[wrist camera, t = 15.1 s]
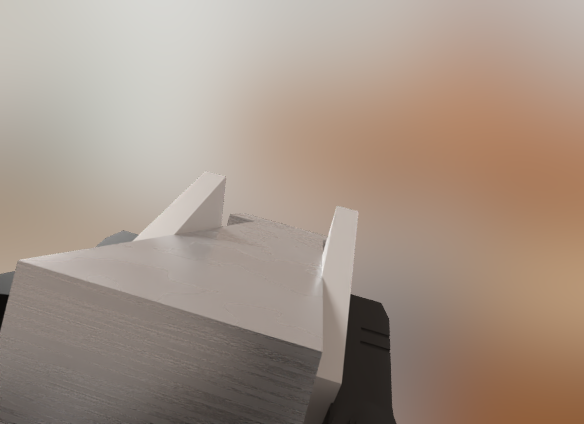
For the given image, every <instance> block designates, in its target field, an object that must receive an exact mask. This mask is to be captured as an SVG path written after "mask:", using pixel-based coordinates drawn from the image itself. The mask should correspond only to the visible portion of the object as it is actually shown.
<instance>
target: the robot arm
mask: <svg viewBox="0 0 584 424" xmlns="http://www.w3.org/2000/svg"><path fill="white" fill-rule="evenodd" d="M225 181H226V176H223V175H220V174H215V173H212V172H208V171H205V172H204V173H203V174H202V175H201V176H200V177H199V178H198V179H197V180H196V181H195V182H193V183H192V185H190V186H189V187H188V188H187V189H186V190H185V191H184V192H183V193H182V194H181V195H180V196H179V197H178V198H177V199H176V200H175V201H174V202H173V203H172V204H171V205H170V206H169V207H167V208H166V209H165V210H164V211H163V212H162V213H161V214H160V215H159V216H158V217H157V218H156V219H155V220H154V221H153V222H152V223H151V224H150V225H149V226H148V227H147V228H146V229H145V230H144V231H142V232H141V233H140V234H139V235H137V234H134V233H131V232H127V231H121V232H119V233H117V234H114V235H112V236H110V237H107V238H105V239H104V240H103V241H102V242H101V243H100V244H98V245H97V246H96V247H101V246H107V245H113V244H119V243H125V242H131V241H137V240H143V239H149V238H155V237H161V236H168V235H176V234H182V233H188V232H194V231H200V230H206V229H212V228H218V227H221V223H222V213H223V202H224V192H225ZM357 221H358V211H355V210H351V209H347V208H343V207H340V206H337V207H336V210H335V214H334V217H333V220H332V224H331V227H330V231H329V234H328V238H327V241H326V244H325V248H324V251H323V255H322V277H323V352H322V356H321V360H320V363H319V367H318V371H317V374H316V378H315V382H314V385H313V389H312V393H311V396H310V400H309V403H308V407H307V411H306V414H305V418H304V422H303V424H396V422H395V419H394V416H393V410H392V394H391V393H392V392H391V362H390V353H389V352H390V339H389V336H390V334H389V333H390V331H389V318H388V316H387V314H386V312H385V310H384V308H383V306H382V304H381V303H379V302H376V301H373V300H369V299H366V298H362V297H359V296H355V295H352V294H350V293H351V282H352V273H353V262H354V251H355V242H356V231H357ZM14 274H15V271H13V272H8V273H4V274H0V330H1V326H2V322H3V318H4V314H5V310H6V306H7V302H8V298H9V294H10V290H11V286H12V282H13V278H14Z"/></svg>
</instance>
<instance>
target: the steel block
mask: <svg viewBox="0 0 584 424" xmlns="http://www.w3.org/2000/svg"><path fill="white" fill-rule="evenodd" d="M327 238H328V236H325V235H322V234H318V233H314V232H311V231H307V230H303V229H299V228H296V227H292V226H288V225H285V224H281V223H277V222H274V221H270V220H267V219H263V218H259V217H256V216H252V215H249V214H230V216H229V220H228V224H227V226H222V227H218V228H212V229H206V230H200V231H194V232H188V233H182V234H176V235H168V236H161V237H155V238H149V239H143V240H137V241H131V242H125V243H119V244H113V245H107V246H101V247H95V248H89V249H83V250H77V251H70V252H64V253H58V254H52V255H46V256H40V257H34V258H28V259H22V260H18V262H17V266H16V269H15V274H14V278H13V282H12V286H11V290H10V294H9V298H8V302H7V306H6V310H5V314H4V318H3V322H2V326H1V330H0V424H303V422H304V418H305V414H306V411H307V407H308V403H309V400H310V396H311V393H312V389H313V385H314V382H315V378H316V374H317V371H318V367H319V363H320V360H321V356H322V352H323V277H322V255H323V251H324V248H325V244H326V241H327Z"/></svg>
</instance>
